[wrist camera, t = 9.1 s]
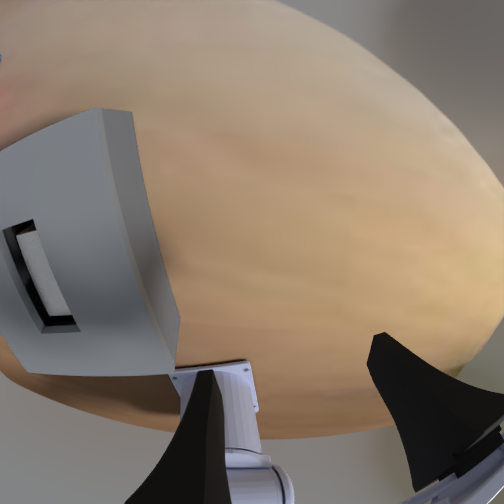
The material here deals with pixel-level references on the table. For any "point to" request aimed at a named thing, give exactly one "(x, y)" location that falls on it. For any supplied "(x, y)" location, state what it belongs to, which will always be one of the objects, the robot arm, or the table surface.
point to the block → (41, 272)
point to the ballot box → (85, 252)
